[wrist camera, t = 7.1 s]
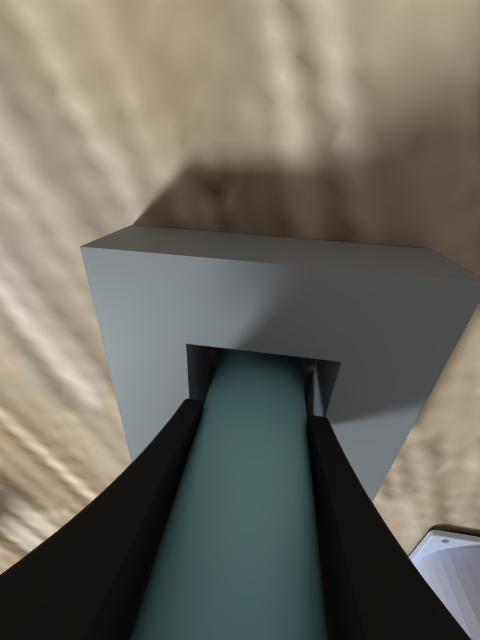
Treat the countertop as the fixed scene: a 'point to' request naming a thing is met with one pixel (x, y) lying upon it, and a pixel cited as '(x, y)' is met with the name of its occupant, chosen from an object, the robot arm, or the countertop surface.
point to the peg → (242, 516)
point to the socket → (279, 326)
